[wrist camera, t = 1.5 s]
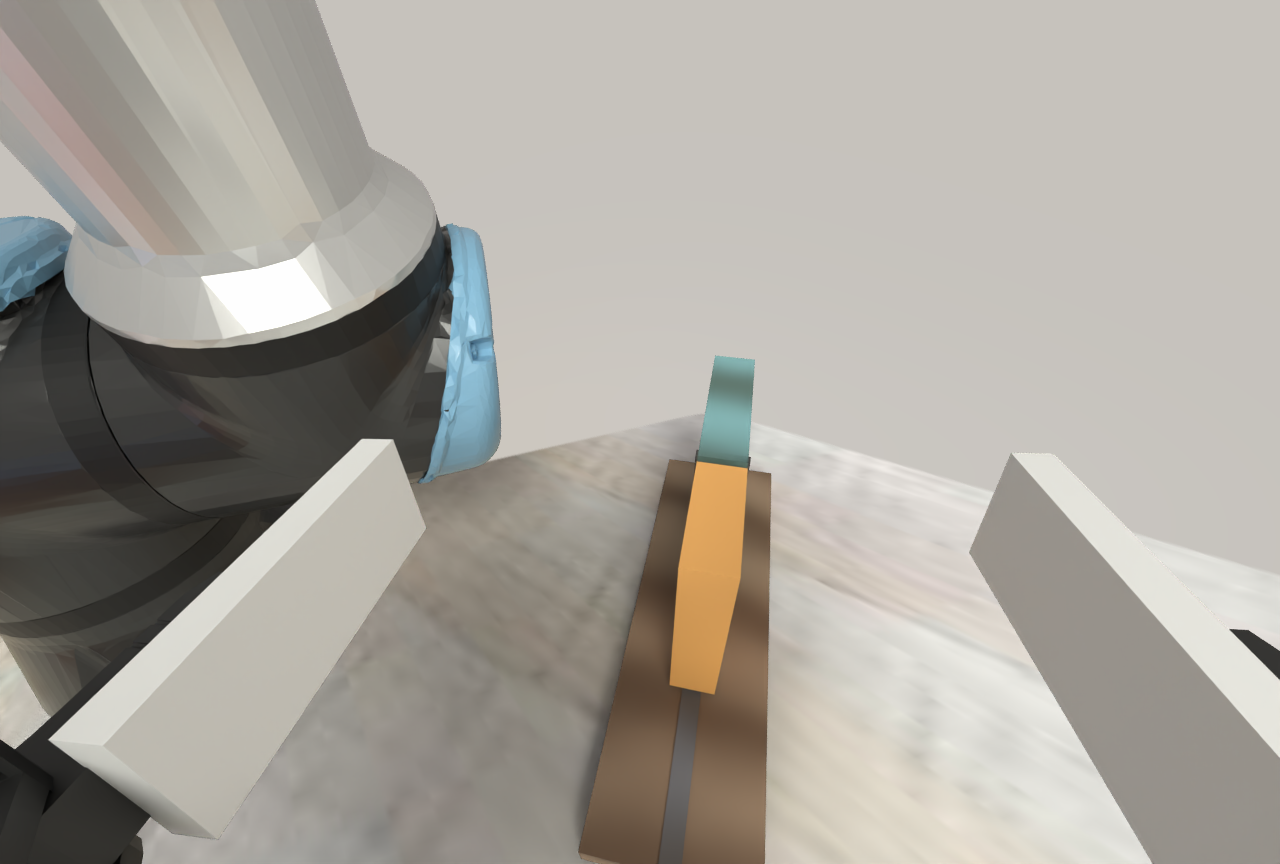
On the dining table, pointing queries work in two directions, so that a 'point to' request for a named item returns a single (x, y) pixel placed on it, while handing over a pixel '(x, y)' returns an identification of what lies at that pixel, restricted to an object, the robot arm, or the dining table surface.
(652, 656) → the ticket stand
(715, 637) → the stub
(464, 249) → the robot arm
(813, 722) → the dining table surface
